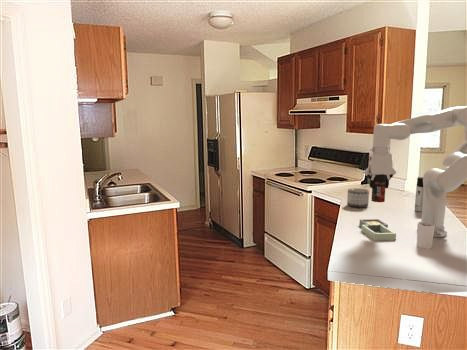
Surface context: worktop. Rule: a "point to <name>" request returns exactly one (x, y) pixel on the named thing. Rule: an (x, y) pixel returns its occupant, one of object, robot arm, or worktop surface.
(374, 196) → the deodorant
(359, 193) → the planter
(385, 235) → the trough
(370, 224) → the cradle plate
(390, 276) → the worktop surface
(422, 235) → the white square cup
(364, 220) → the cradle housing
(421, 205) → the spray can
